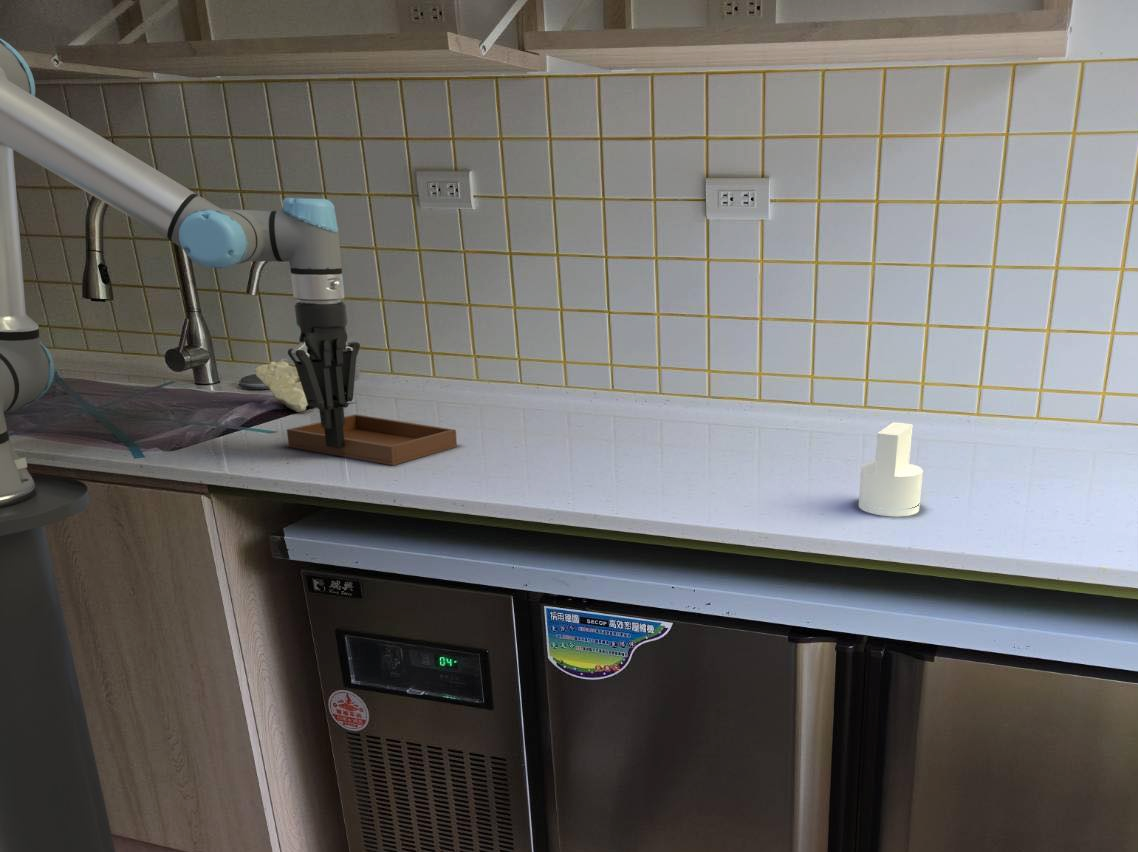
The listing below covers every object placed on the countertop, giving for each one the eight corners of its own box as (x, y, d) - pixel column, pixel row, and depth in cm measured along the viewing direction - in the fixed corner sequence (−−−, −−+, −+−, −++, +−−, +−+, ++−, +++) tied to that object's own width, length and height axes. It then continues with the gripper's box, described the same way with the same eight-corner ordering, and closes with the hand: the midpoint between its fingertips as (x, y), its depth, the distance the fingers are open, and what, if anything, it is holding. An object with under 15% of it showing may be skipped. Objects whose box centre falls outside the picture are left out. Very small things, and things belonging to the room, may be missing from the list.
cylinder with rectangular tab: (910, 519, 141) (918, 438, 137) (850, 510, 144) (856, 430, 140) (925, 504, 148) (933, 426, 144) (868, 495, 152) (874, 419, 148)
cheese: (340, 420, 199) (341, 365, 206) (319, 399, 192) (321, 342, 200) (271, 441, 200) (274, 385, 208) (248, 420, 194) (252, 363, 201)
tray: (392, 465, 160) (391, 447, 159) (288, 447, 169) (286, 429, 168) (457, 446, 173) (456, 429, 172) (357, 430, 182) (355, 414, 181)
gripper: (304, 305, 148) (321, 457, 156) (368, 300, 159) (381, 441, 167) (268, 302, 151) (287, 451, 159) (334, 297, 162) (348, 436, 170)
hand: (335, 446), depth 163 cm, fingers closed
